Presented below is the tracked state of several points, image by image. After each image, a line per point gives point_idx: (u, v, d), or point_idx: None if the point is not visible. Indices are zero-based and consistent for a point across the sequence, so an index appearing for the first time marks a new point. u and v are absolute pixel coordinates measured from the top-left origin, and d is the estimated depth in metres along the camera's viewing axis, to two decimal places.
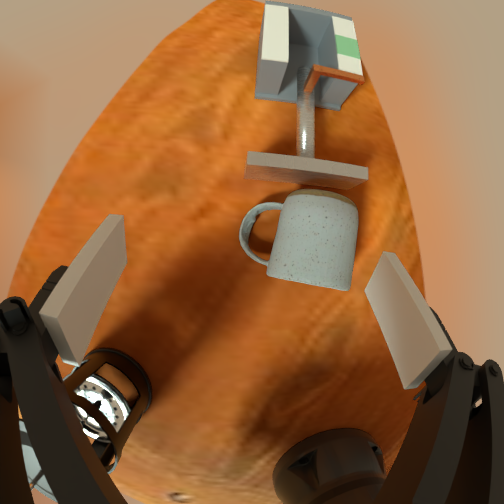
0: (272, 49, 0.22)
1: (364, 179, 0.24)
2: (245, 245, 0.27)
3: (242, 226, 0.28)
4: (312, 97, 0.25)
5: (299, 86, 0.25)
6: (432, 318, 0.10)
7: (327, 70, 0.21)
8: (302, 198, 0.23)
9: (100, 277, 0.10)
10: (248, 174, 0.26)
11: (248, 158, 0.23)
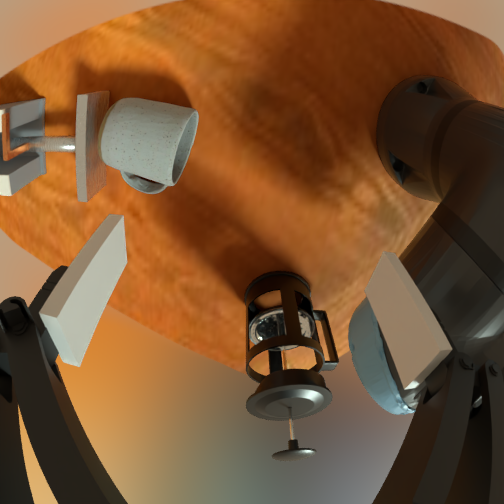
0: (2, 187, 0.22)
1: (88, 97, 0.20)
2: (156, 190, 0.29)
3: (142, 190, 0.30)
4: (32, 141, 0.22)
5: (27, 151, 0.23)
6: (432, 318, 0.10)
7: (5, 149, 0.19)
8: (106, 162, 0.23)
9: (100, 277, 0.10)
10: (99, 187, 0.28)
11: (83, 200, 0.25)
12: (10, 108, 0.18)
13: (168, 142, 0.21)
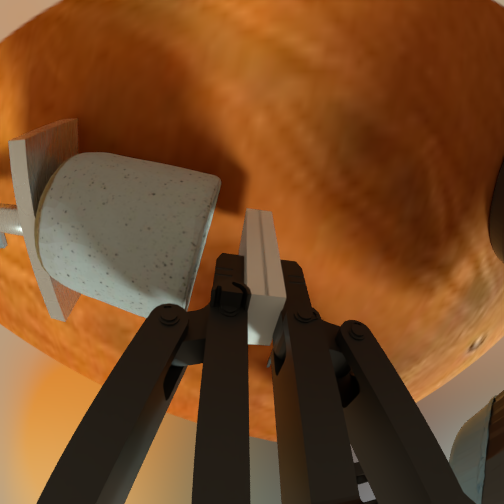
0: None
1: (27, 145, 0.09)
2: None
3: None
4: None
5: None
6: (276, 266, 0.11)
7: None
8: None
9: None
10: None
11: (58, 319, 0.14)
12: None
13: (168, 277, 0.10)
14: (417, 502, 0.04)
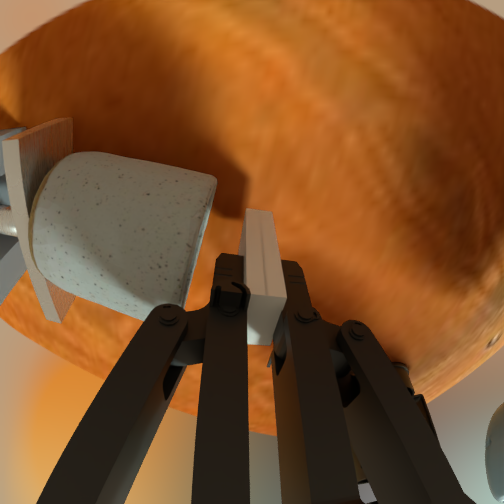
0: None
1: (20, 145, 0.08)
2: None
3: None
4: None
5: None
6: (276, 266, 0.11)
7: None
8: None
9: None
10: None
11: (54, 320, 0.14)
12: None
13: (163, 279, 0.10)
14: (417, 502, 0.04)
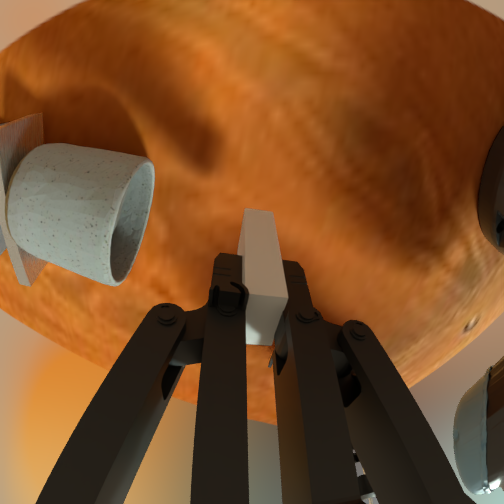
0: None
1: None
2: None
3: None
4: None
5: None
6: (277, 266, 0.11)
7: None
8: None
9: None
10: None
11: (25, 284, 0.15)
12: None
13: (94, 236, 0.12)
14: (418, 502, 0.04)
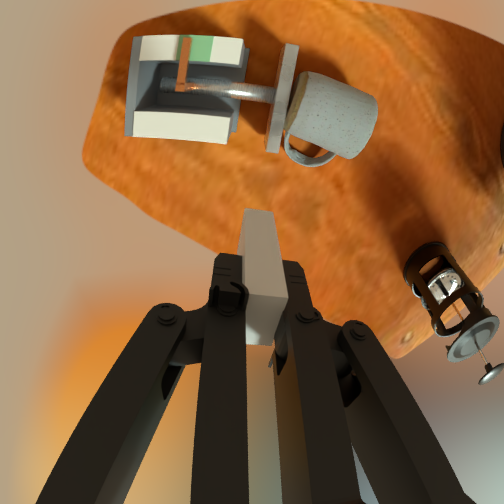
0: (212, 132, 0.24)
1: (298, 48, 0.21)
2: (316, 163, 0.31)
3: (300, 162, 0.31)
4: (200, 81, 0.24)
5: (186, 93, 0.24)
6: (277, 266, 0.11)
7: (181, 77, 0.20)
8: (295, 127, 0.25)
9: None
10: None
11: (272, 151, 0.26)
12: (243, 41, 0.20)
13: (369, 119, 0.23)
14: (418, 502, 0.04)
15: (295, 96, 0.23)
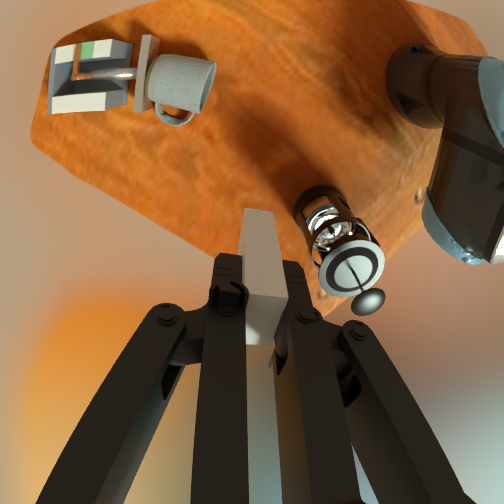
0: (95, 103, 0.29)
1: (151, 36, 0.26)
2: (182, 122, 0.37)
3: (170, 123, 0.37)
4: (93, 72, 0.29)
5: (86, 81, 0.30)
6: (277, 266, 0.11)
7: (75, 71, 0.25)
8: (150, 95, 0.31)
9: None
10: (148, 107, 0.34)
11: (137, 111, 0.32)
12: (114, 40, 0.25)
13: (199, 77, 0.29)
14: (418, 502, 0.04)
15: (147, 73, 0.29)
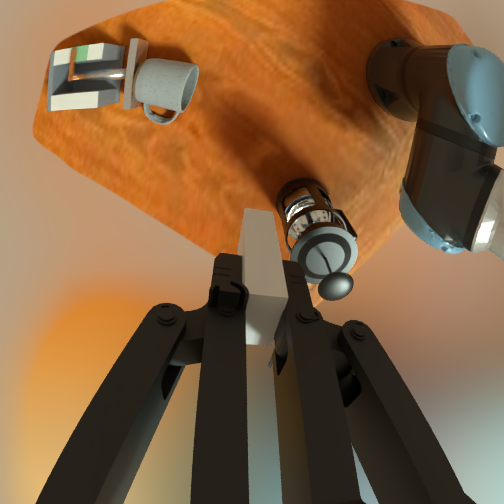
0: (89, 101, 0.32)
1: (138, 40, 0.29)
2: (168, 121, 0.40)
3: (157, 122, 0.40)
4: (88, 72, 0.31)
5: (82, 81, 0.32)
6: (277, 266, 0.11)
7: (70, 72, 0.28)
8: (137, 96, 0.33)
9: None
10: (137, 105, 0.37)
11: (126, 108, 0.34)
12: (106, 44, 0.28)
13: (180, 79, 0.31)
14: (418, 502, 0.04)
15: (134, 76, 0.31)
